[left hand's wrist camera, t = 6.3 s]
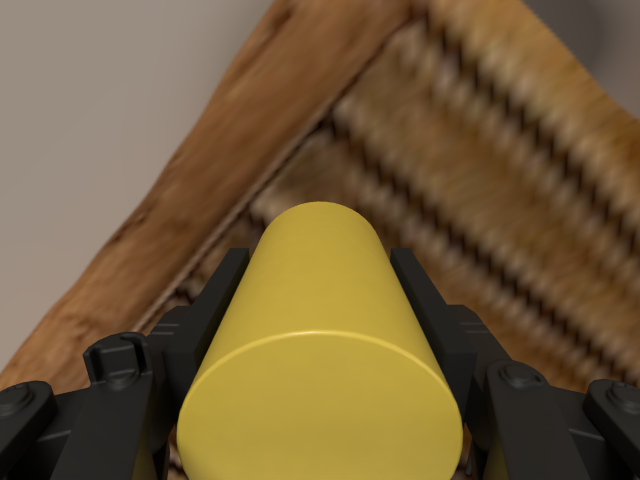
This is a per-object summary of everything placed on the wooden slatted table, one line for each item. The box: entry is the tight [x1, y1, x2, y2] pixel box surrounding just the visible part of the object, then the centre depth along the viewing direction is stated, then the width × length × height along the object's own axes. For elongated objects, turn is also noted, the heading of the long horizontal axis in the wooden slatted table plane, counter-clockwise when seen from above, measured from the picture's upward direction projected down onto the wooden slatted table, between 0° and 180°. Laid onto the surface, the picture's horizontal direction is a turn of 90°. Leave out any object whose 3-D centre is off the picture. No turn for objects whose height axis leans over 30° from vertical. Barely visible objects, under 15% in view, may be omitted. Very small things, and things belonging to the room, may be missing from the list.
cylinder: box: [177, 202, 463, 480], centre depth 11 cm, size 6×6×10 cm
